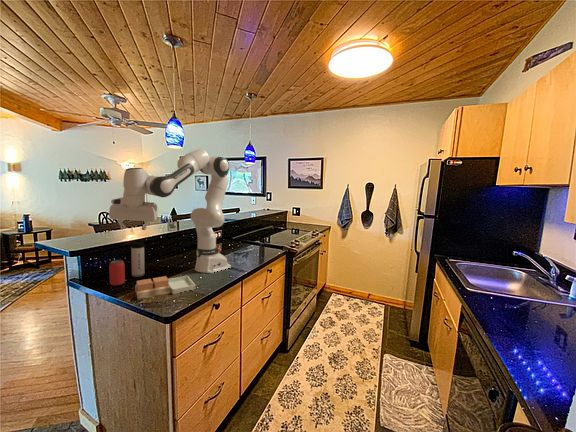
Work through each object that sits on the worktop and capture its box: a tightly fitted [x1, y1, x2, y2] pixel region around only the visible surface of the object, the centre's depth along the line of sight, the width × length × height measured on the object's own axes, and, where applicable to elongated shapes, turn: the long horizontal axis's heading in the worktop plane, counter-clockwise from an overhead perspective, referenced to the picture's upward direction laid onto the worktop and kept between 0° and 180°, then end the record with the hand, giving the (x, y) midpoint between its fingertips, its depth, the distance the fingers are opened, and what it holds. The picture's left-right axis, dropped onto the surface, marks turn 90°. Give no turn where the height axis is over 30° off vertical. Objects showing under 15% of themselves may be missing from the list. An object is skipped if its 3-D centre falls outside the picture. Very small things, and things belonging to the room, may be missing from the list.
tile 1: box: [136, 278, 153, 291], centre depth 117 cm, size 6×6×3 cm
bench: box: [134, 284, 172, 301], centre depth 120 cm, size 14×11×3 cm
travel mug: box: [130, 240, 145, 278], centre depth 139 cm, size 6×7×20 cm
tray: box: [168, 275, 197, 295], centre depth 128 cm, size 11×15×2 cm
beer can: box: [108, 259, 126, 286], centre depth 127 cm, size 7×7×12 cm
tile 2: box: [152, 275, 169, 288], centre depth 122 cm, size 6×6×3 cm
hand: (133, 229), depth 118 cm, fingers open, 8 cm apart
